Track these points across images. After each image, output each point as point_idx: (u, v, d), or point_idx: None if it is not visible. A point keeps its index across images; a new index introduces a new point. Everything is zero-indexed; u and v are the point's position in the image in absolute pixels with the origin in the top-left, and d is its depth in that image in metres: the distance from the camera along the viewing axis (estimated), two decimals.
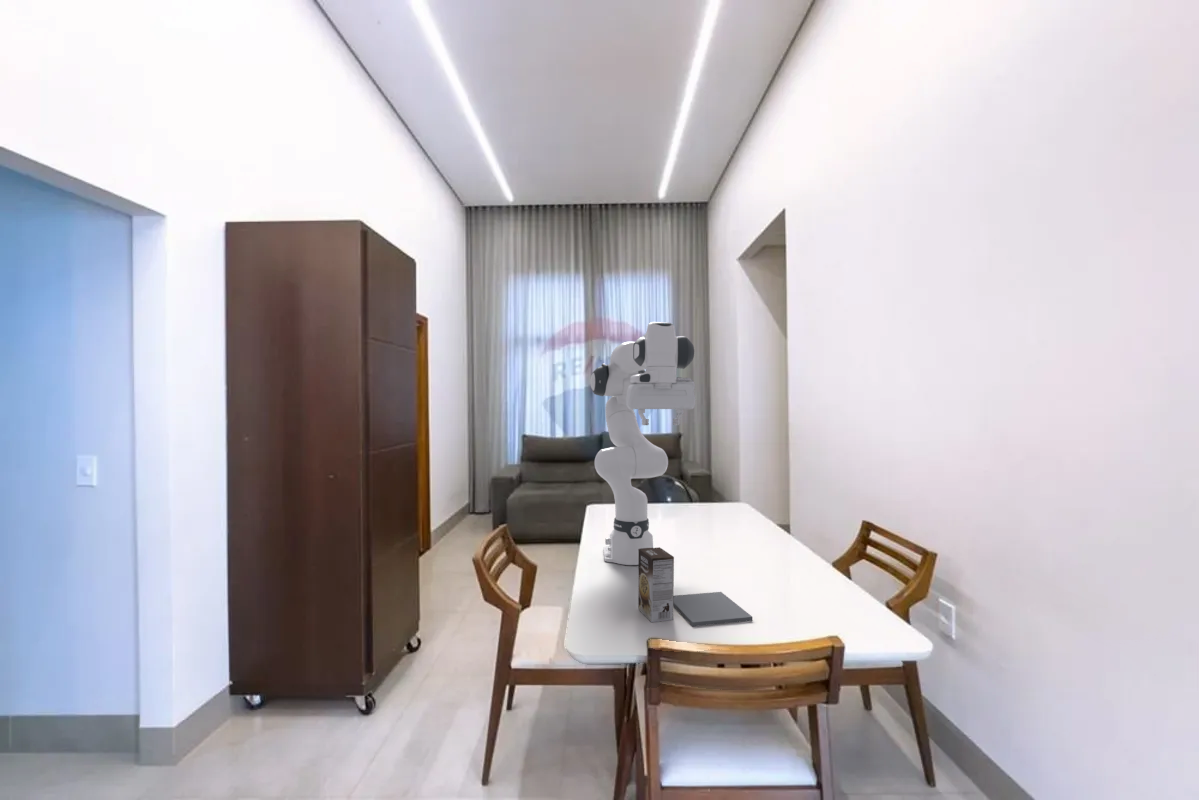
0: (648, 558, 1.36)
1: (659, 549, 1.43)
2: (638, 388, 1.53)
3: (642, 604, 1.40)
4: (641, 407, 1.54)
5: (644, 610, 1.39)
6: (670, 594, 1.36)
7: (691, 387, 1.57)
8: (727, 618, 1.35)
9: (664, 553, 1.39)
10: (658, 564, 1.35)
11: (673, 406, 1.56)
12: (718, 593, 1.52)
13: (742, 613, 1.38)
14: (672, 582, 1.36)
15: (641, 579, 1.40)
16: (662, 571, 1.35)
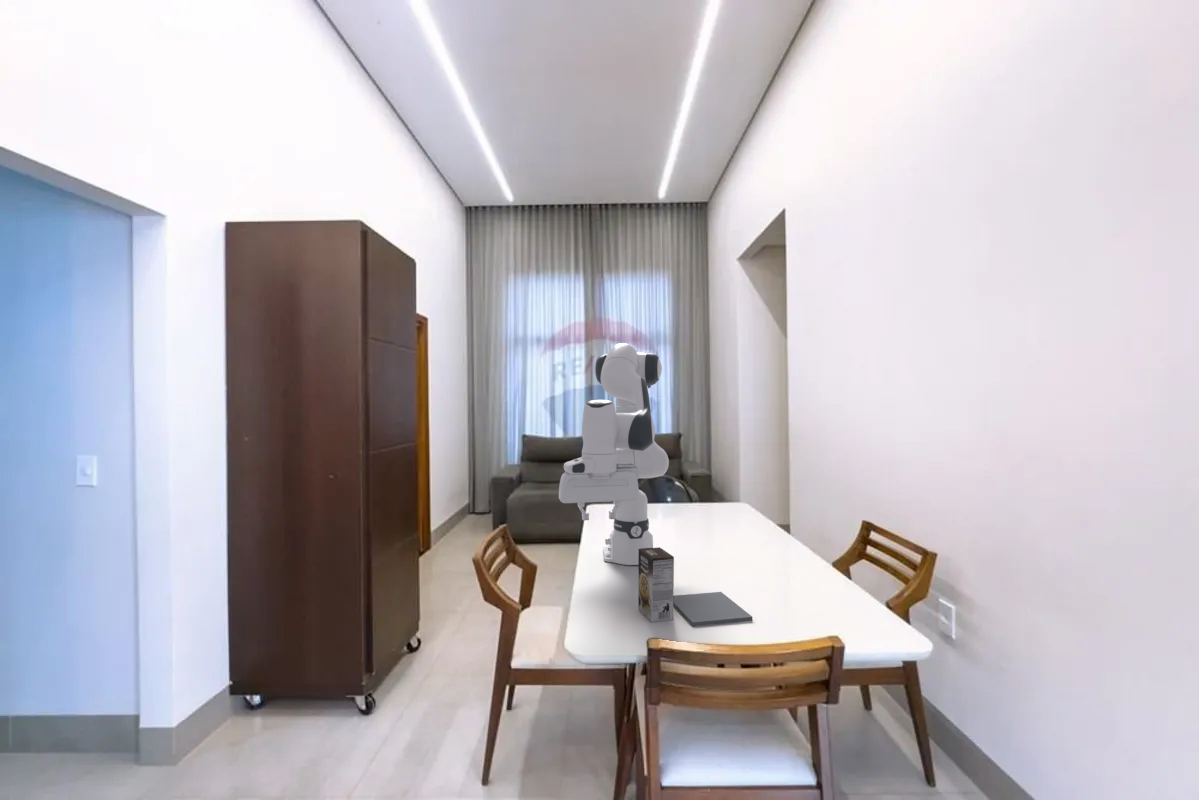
0: (648, 558, 1.36)
1: (659, 549, 1.43)
2: (571, 479, 1.33)
3: (642, 604, 1.40)
4: (575, 501, 1.33)
5: (644, 610, 1.39)
6: (670, 594, 1.36)
7: (634, 475, 1.37)
8: (727, 618, 1.35)
9: (664, 553, 1.39)
10: (658, 564, 1.35)
11: (613, 498, 1.35)
12: (718, 593, 1.52)
13: (742, 613, 1.38)
14: (672, 582, 1.36)
15: (641, 579, 1.40)
16: (662, 571, 1.35)
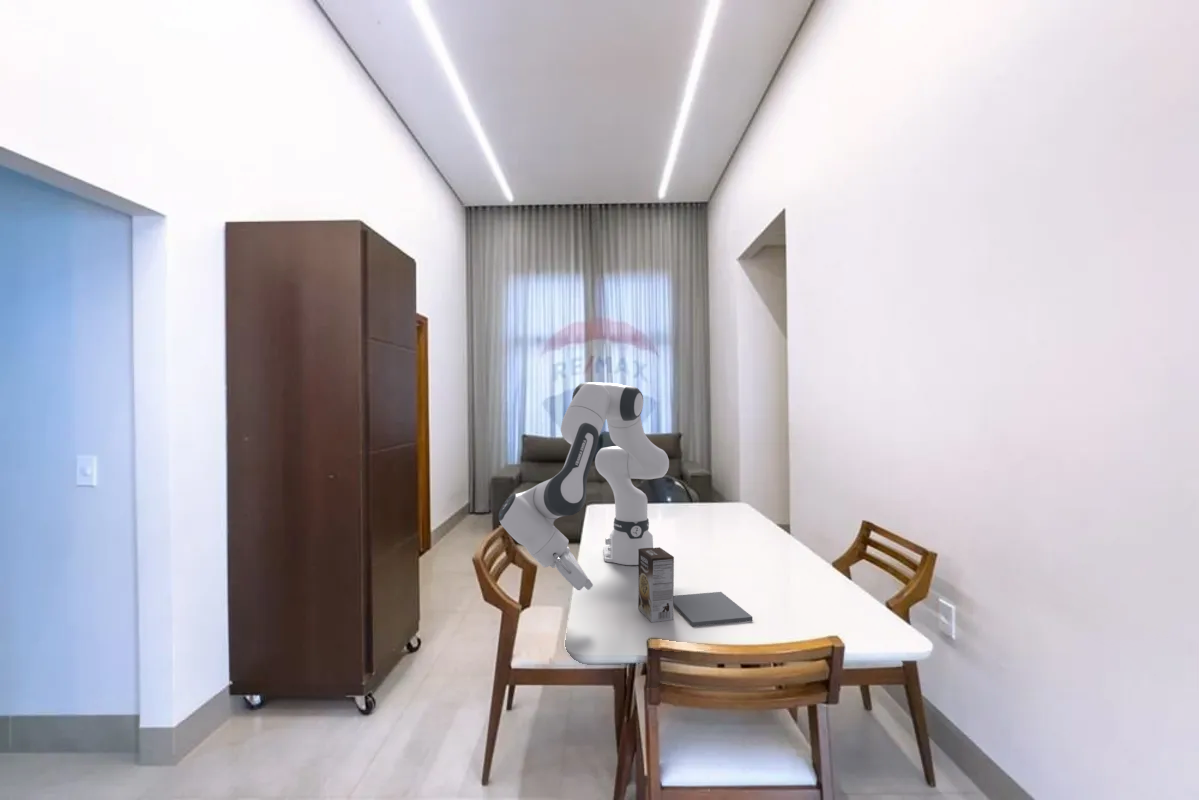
0: (648, 558, 1.36)
1: (659, 549, 1.43)
2: None
3: (642, 604, 1.40)
4: None
5: (644, 610, 1.39)
6: (670, 594, 1.36)
7: (560, 572, 1.25)
8: (727, 618, 1.35)
9: (664, 553, 1.39)
10: (658, 564, 1.35)
11: None
12: (718, 593, 1.52)
13: (742, 613, 1.38)
14: (672, 582, 1.36)
15: (641, 579, 1.40)
16: (662, 571, 1.35)
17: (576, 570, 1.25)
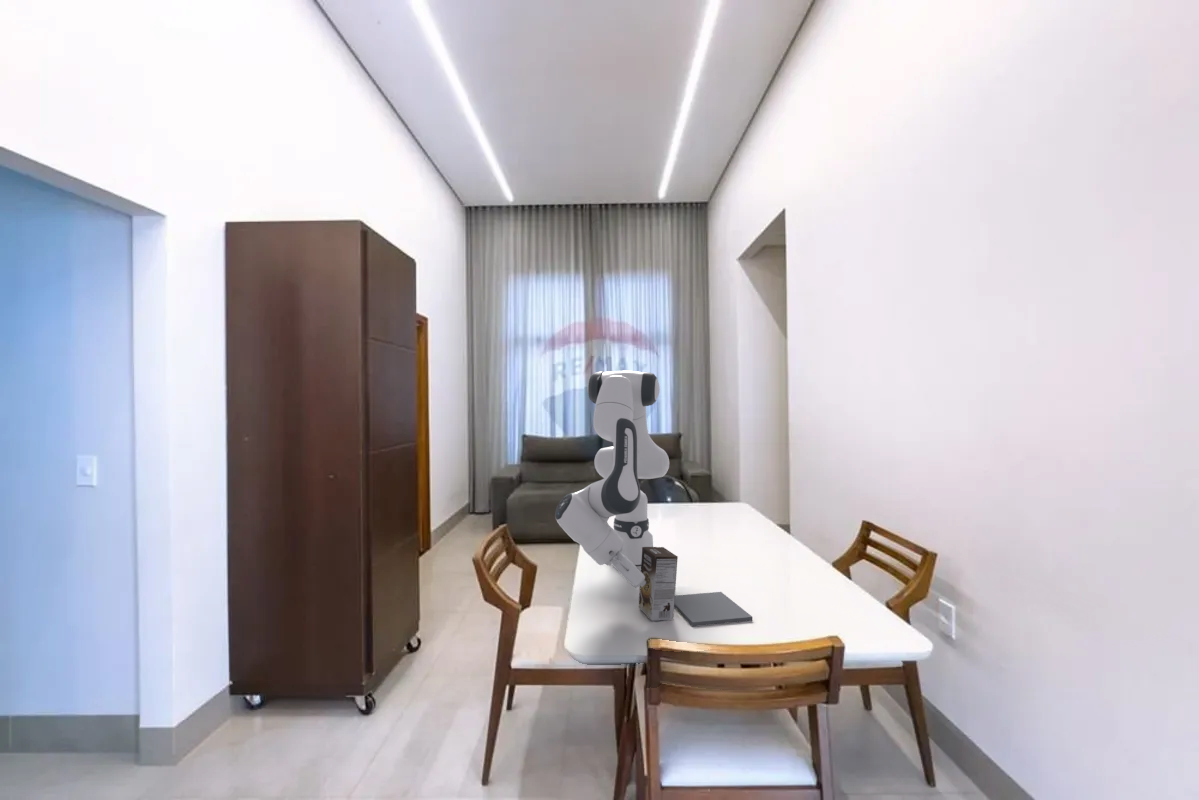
0: (652, 556, 1.37)
1: (663, 549, 1.43)
2: None
3: (642, 603, 1.40)
4: None
5: (644, 608, 1.39)
6: (672, 594, 1.36)
7: (617, 570, 1.29)
8: (727, 618, 1.35)
9: (668, 552, 1.39)
10: (661, 563, 1.35)
11: None
12: (718, 593, 1.52)
13: (742, 613, 1.38)
14: (674, 582, 1.37)
15: None
16: (665, 570, 1.36)
17: (633, 568, 1.28)
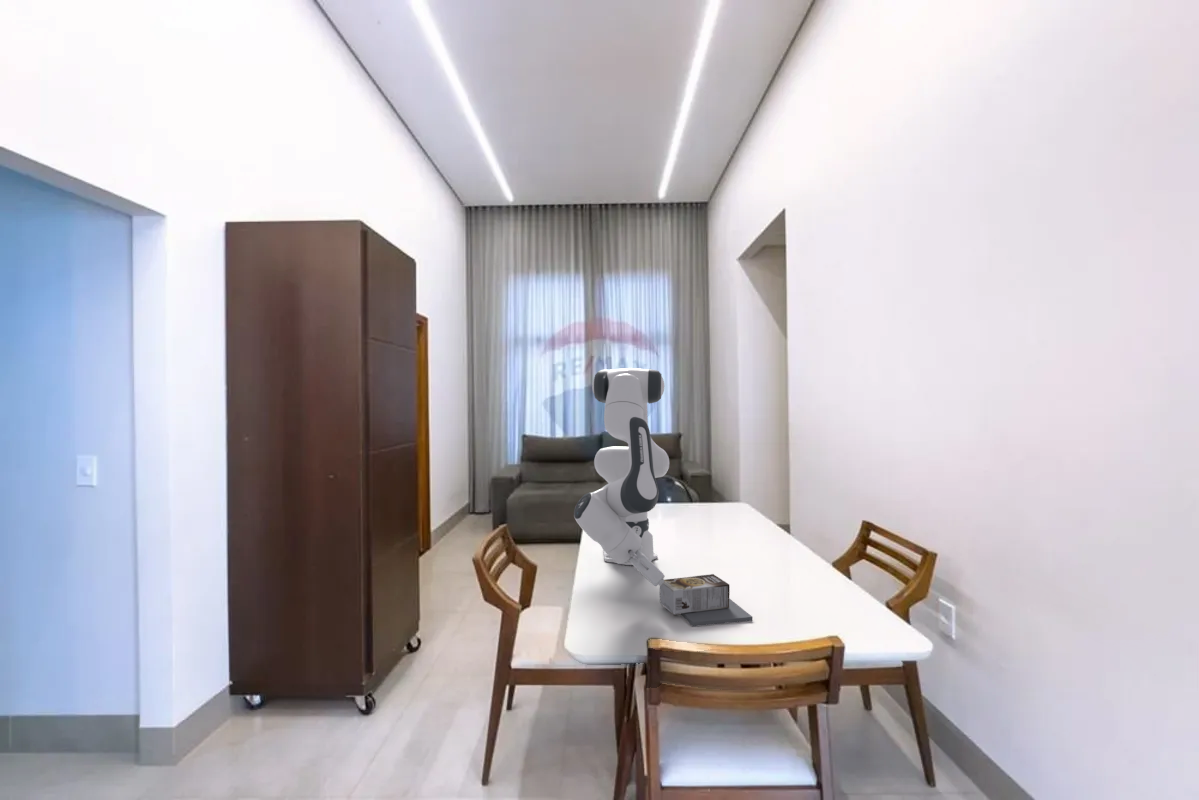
0: (724, 582, 1.43)
1: None
2: None
3: (672, 582, 1.43)
4: None
5: (671, 584, 1.41)
6: (696, 608, 1.38)
7: (637, 569, 1.30)
8: (727, 618, 1.35)
9: None
10: (724, 592, 1.41)
11: None
12: None
13: (742, 613, 1.38)
14: (707, 609, 1.39)
15: (693, 579, 1.45)
16: (717, 597, 1.40)
17: (653, 566, 1.29)
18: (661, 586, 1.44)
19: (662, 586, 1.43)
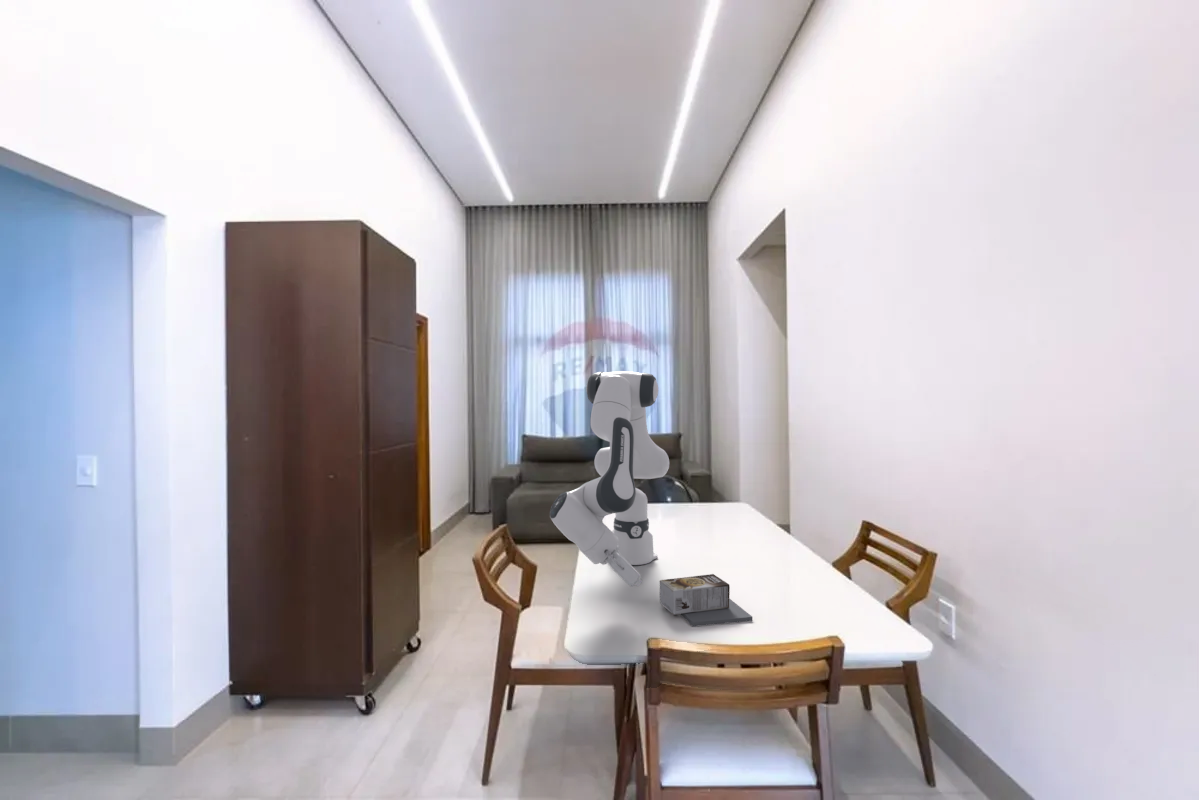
0: (724, 582, 1.43)
1: None
2: None
3: (672, 582, 1.43)
4: None
5: (671, 584, 1.41)
6: (696, 609, 1.38)
7: (613, 569, 1.28)
8: (727, 618, 1.35)
9: None
10: (724, 592, 1.41)
11: None
12: None
13: (742, 613, 1.38)
14: (707, 609, 1.39)
15: (694, 579, 1.45)
16: (717, 597, 1.40)
17: (629, 566, 1.28)
18: (661, 586, 1.44)
19: (662, 586, 1.43)
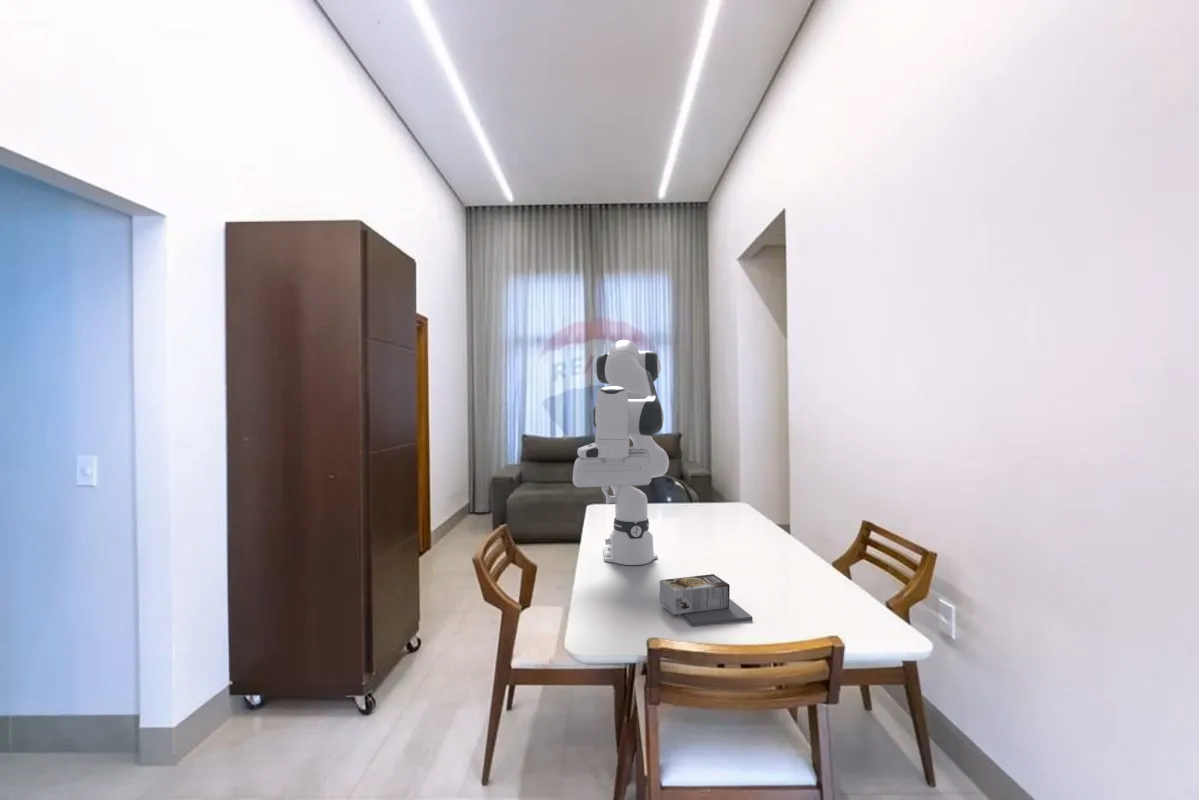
0: (724, 582, 1.43)
1: None
2: (585, 463, 1.36)
3: (672, 582, 1.43)
4: (588, 485, 1.36)
5: (671, 584, 1.41)
6: (696, 609, 1.38)
7: (646, 461, 1.39)
8: (727, 618, 1.35)
9: None
10: (724, 592, 1.41)
11: (625, 483, 1.38)
12: None
13: (742, 613, 1.38)
14: (707, 609, 1.39)
15: (694, 579, 1.45)
16: (717, 597, 1.40)
17: None
18: (661, 586, 1.44)
19: (662, 586, 1.43)
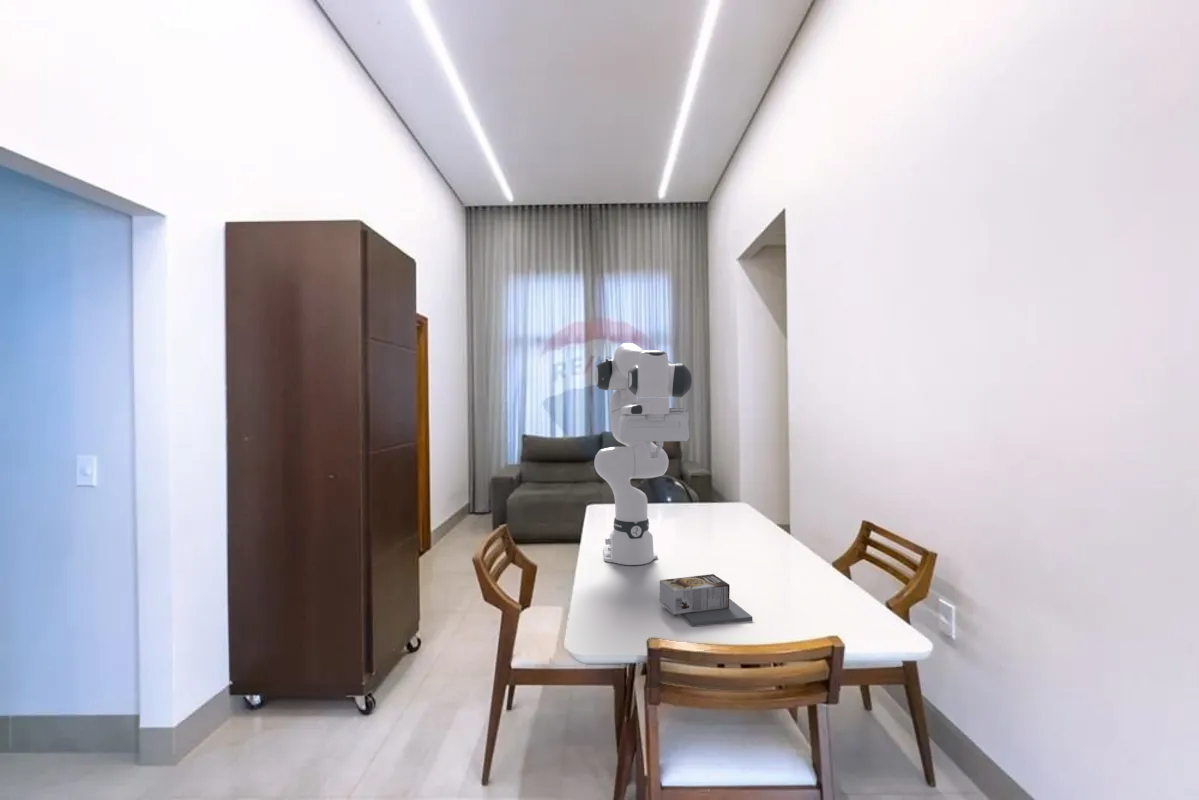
0: (724, 582, 1.43)
1: None
2: (630, 420, 1.47)
3: (672, 582, 1.43)
4: (633, 440, 1.48)
5: (671, 584, 1.41)
6: (696, 609, 1.38)
7: (685, 418, 1.51)
8: (727, 618, 1.35)
9: None
10: (724, 592, 1.41)
11: (666, 438, 1.50)
12: None
13: (742, 613, 1.38)
14: (707, 609, 1.39)
15: (694, 579, 1.45)
16: (717, 597, 1.40)
17: None
18: (661, 586, 1.44)
19: (662, 586, 1.43)
